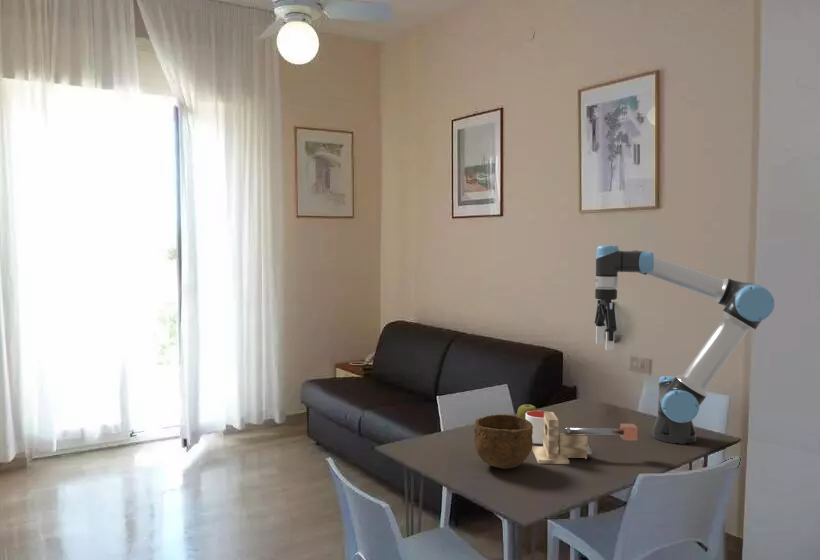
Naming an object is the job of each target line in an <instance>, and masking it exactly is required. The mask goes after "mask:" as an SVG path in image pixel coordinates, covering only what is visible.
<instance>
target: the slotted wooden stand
mask: <svg viewBox="0 0 820 560" xmlns="http://www.w3.org/2000/svg"><path fill="white" fill-rule="evenodd" d="M588 437H589V435H588V434H565V432H559V419H558V417H557V416H556V415H555V413H554V412H553V411H546V412H544V436H543V444H542V445H541V446H540V445H539V446H537V445H536V446H535V445H534V446H533V445H532V450H531V452H533V455H534V456H535V459H536V461H537V463H538V464H540V465H541V464H549V465H553V464H554V465H570V459H568V458H585V459H584V460H588V442H589V441H588Z"/></svg>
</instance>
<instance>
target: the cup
mask: <svg viewBox="0 0 820 560" xmlns="http://www.w3.org/2000/svg"><path fill="white" fill-rule="evenodd" d="M544 412H547V411H545V410H537V411H529V412H526V418H525V419H526V420H528V421H530V422H531V423H532V426H533V428H532V429H533V434H532V441H533V443H532V445H533V444H535V445H543V436H544Z"/></svg>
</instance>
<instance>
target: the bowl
mask: <svg viewBox="0 0 820 560" xmlns="http://www.w3.org/2000/svg"><path fill="white" fill-rule="evenodd" d="M473 428H474V430H473V431H474V437H473V443H474V448H475V451H476V453H477V455H478V456H479V458H480V459H481V461H483V462H484V463H485V464H486V465H488V466H491V467H494V468H499V469H502V470H503V469H504V470H507V469H508V470H509V469H512V468H517V467H518V466H520V465H521V464H522V463H524V461H526V460H527V458H528V456H529V455H530V454H531V452H532V446H533V441H532V434H533V429H532V428H533V426H532V423H531V422H530V421H528V420H526V419H524V418H521V417H518V415H512V414H507V413H506V414H504V413H503V414H499V413H498V414H491V415H486V416H483V417H479V418H476V420H475V421H474V427H473Z"/></svg>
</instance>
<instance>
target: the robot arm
mask: <svg viewBox="0 0 820 560" xmlns="http://www.w3.org/2000/svg"><path fill="white" fill-rule="evenodd" d="M595 255H596V256H595V278H594V279H593V280H594V282H595V287H596V289H595V290H594V291H595V292H594V293H595V294H594V295H595V296H594V299H596V300H597V306H596V313H595V319H594V324H595V327H596V329H595V335H596V336H595V344H596V345H604V344H605V351H615V332H616V331H617V330H618V328H617V322H616V321H617V320H616V311H615V309H616V306H615V303H614V302H612V300H613V301H615V300H617V298H618V290H617V288H618V285H619V284H618V278H619V276H618V273H638V274H642V275H643V276H644V275H645V276H648V277H651V278H652V279H656V280H659V281H662V282H664V283H667V284H671V285H673V286H676V287H679V288H681V289H684V290H687V291H691V292H694V293H695V294H699V295H702V296H704V297H707V298H710V299H713V300H715V303H716V304H718V305H722V306H724V309H723V310H722V315H723V318H722V320H720V322H719V323H718V325H717V326H716V327H715V329H714V330H713V331H712V334H710V336H709V338H708V339H706V342H705V343H704V344H703V346H702V347H701V348H700V350H699V351H698V353H697V355H696V356H695V357H694V358H693V360H692V362H691V363H690V364H689V365H688V366H687V368H686V370H685V371H684V372H683V373H682V374H679V375H676V376H673V375H661V376H660V377H659V379H658V399H657V400H658V405H657V417H656V418H655V423H654V425H653V427H652V434H651V435H652V437H653V438H654V439H655V440H657V441H658V440H659V441H661V442H665V443H669V444H670V443H671V444H676V443H679V444H680V445H686V443H689V444H693V442H694V443H696V442H697V433H696V429H695V426H694V422H693V420H694V419H695V418H696V416H697V415H698V414H699V411H700V406H701V405H702V403H703V401H704V400H705V399H706V398H707V396H708V393H707V388H708V386H709V385H710V384H711V383H712V381H713V379H714V378H715V377H716V375H718V373H719V372H720V370H721V369H722V368H723V366H724V365H725V364H726V362H727V360H728V359H729V358H730V356H731V355H732V354H733V352H734V351H735V350H736V348H737V347H738V346H739V344H740V343H741V341H742V340H743V339H744V337H745V336H746V334H747V333H748V332H753V331H756V329H757V328H758V327H759V326H760V324H761V322H763V321H764V320H766V319H767V318H769V317H770V316H771V314H772V313H773V312H774V309H775V299H774V297H773V294H772V292H770V291H769V289H767V288H766V287H764V286H762V285H760V284H756V283H752V282H745V281H740V280H735V279H731V278H727V277H726V278H724V279H722V278H720V277H717V276H713V275H711V274H708V273H705V272H701V271H698V270H696V269H692V268H690V267H687V266H684V265H680V264H678V263H674V262H672V261H669V260H666V259H663V258H660V257H657V256H655V254H654V253H653V252H652V251H648V250H647V251H646V250H641V251H640V250H635V249H634V250H631V251H629V250H620V249H619V246H618V245H610V244H609V245H604V244H603V245H602V244H601V245H598V246H597V247H596V254H595ZM605 327H606V329H605ZM679 444H678V445H679Z"/></svg>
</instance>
